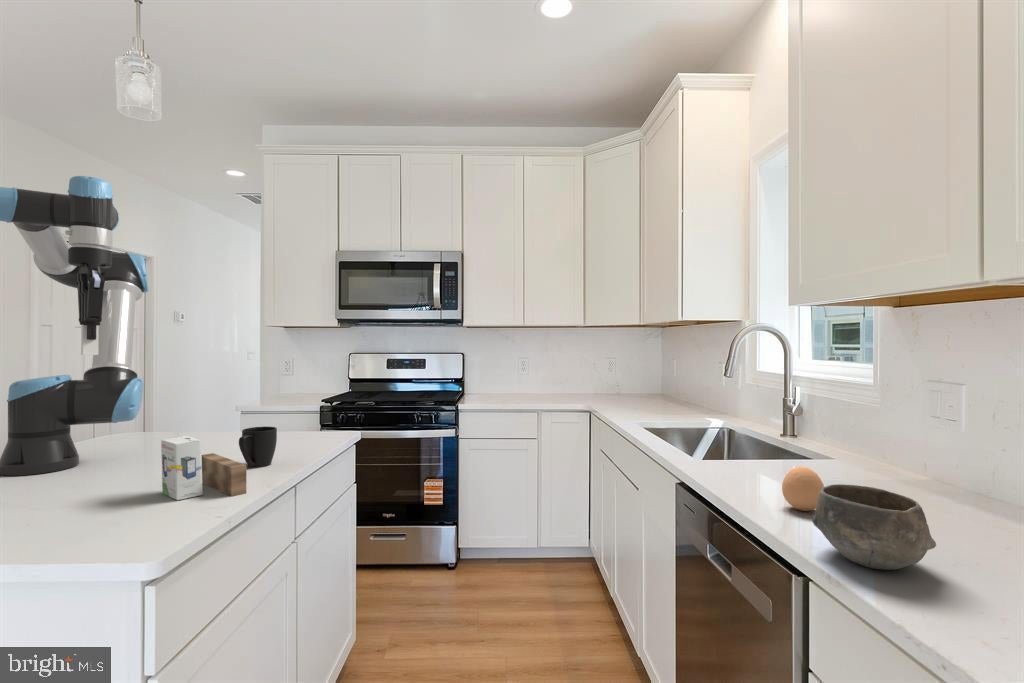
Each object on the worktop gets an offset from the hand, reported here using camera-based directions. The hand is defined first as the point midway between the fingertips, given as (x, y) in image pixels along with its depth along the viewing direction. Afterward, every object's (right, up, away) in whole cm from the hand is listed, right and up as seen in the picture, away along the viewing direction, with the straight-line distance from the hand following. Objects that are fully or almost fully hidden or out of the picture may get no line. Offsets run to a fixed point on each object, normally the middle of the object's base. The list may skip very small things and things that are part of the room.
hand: (89, 354), depth 113 cm
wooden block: (+29, -30, +1) cm, 41 cm away
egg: (+151, -30, -13) cm, 155 cm away
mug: (+27, -30, +19) cm, 45 cm away
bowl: (+148, -30, -36) cm, 155 cm away
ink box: (+24, -30, -5) cm, 38 cm away
